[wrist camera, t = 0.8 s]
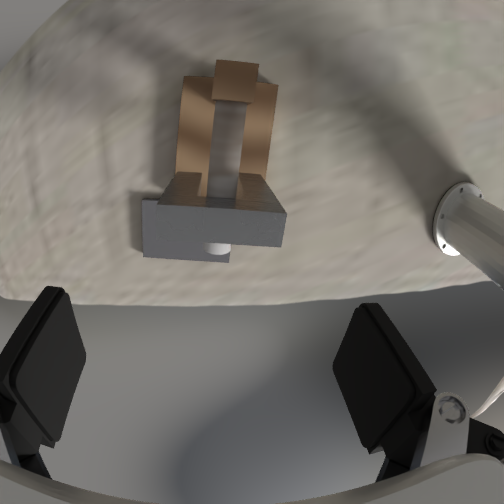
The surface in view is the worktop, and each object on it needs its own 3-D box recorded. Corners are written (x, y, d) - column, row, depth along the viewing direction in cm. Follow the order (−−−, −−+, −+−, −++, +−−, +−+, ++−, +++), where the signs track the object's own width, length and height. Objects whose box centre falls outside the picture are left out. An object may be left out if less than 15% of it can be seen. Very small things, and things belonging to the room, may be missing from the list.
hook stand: (185, 77, 27) (152, 46, 13) (276, 85, 28) (324, 64, 14) (175, 196, 33) (143, 263, 19) (260, 202, 34) (288, 272, 20)
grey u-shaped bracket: (260, 174, 27) (286, 213, 17) (257, 196, 28) (281, 247, 18) (179, 168, 26) (156, 204, 16) (178, 190, 27) (156, 239, 17)
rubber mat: (234, 204, 34) (234, 205, 34) (228, 260, 38) (228, 262, 37) (143, 198, 33) (141, 200, 32) (144, 254, 36) (143, 256, 35)
